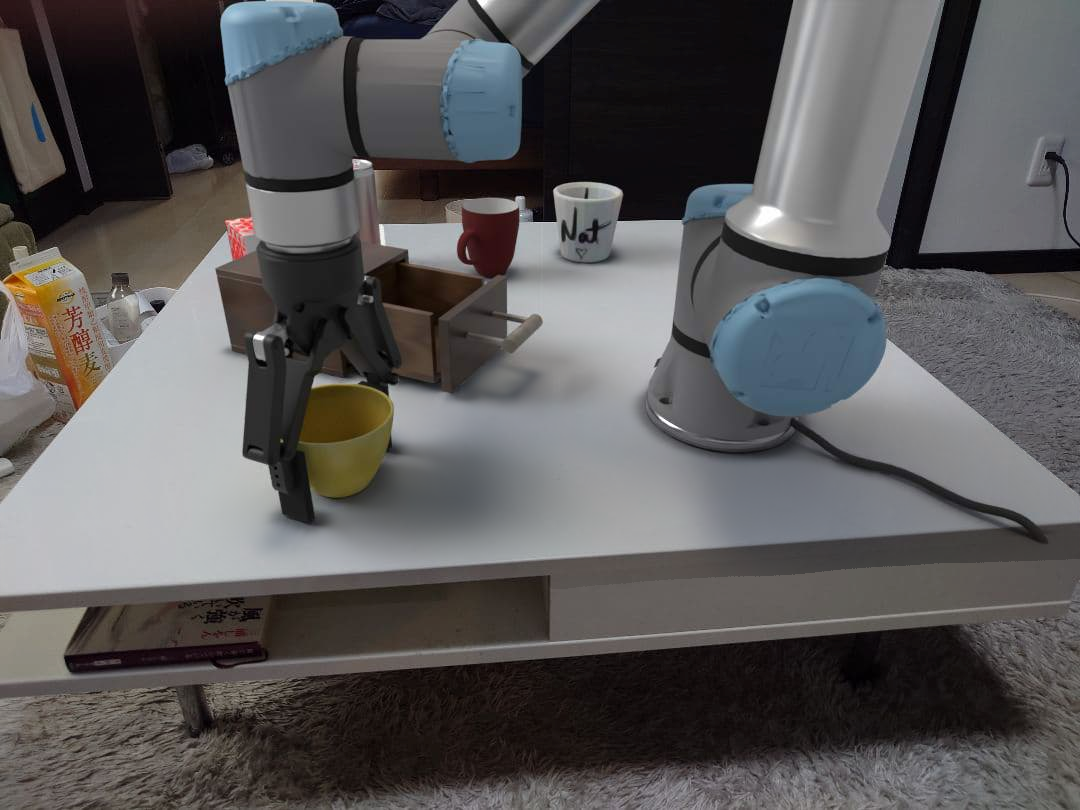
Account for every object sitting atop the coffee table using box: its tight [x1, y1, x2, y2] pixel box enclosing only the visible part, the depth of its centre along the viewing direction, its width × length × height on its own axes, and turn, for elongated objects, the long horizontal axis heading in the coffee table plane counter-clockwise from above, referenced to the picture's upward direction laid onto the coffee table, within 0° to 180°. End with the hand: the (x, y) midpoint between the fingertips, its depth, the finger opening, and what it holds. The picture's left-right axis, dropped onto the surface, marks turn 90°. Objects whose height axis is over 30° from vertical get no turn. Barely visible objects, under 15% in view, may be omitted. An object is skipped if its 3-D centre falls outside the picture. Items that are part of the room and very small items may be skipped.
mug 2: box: [552, 181, 624, 263], centre depth 120 cm, size 10×15×10 cm
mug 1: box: [456, 197, 520, 279], centre depth 109 cm, size 11×8×10 cm
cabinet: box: [214, 242, 410, 379], centre depth 90 cm, size 16×15×10 cm
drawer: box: [345, 261, 544, 395], centre depth 85 cm, size 20×13×8 cm, turn 67°
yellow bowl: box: [281, 382, 395, 498], centre depth 67 cm, size 10×10×7 cm
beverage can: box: [352, 158, 382, 245], centre depth 110 cm, size 6×6×15 cm
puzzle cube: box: [225, 216, 261, 261], centre depth 108 cm, size 8×8×8 cm
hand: (341, 478), depth 68 cm, fingers open, 11 cm apart
